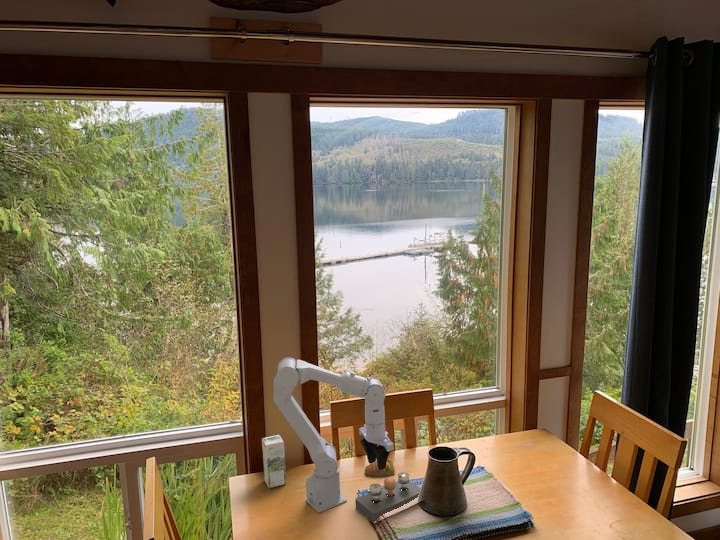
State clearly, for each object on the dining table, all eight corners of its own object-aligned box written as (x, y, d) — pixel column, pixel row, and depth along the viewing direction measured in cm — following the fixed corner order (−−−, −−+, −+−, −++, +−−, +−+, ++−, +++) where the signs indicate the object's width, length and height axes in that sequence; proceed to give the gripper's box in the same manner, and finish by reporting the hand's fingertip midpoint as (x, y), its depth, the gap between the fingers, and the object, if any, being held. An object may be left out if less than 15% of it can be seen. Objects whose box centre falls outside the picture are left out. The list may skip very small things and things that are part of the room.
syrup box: (281, 476, 171) (278, 433, 169) (286, 485, 165) (283, 440, 163) (264, 480, 168) (261, 437, 167) (268, 489, 163) (265, 444, 161)
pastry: (367, 480, 166) (367, 468, 166) (362, 470, 173) (361, 459, 172) (396, 475, 169) (395, 463, 168) (389, 465, 175) (389, 454, 175)
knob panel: (374, 523, 143) (373, 513, 143) (355, 508, 151) (355, 498, 150) (425, 500, 153) (424, 490, 153) (405, 487, 161) (405, 478, 160)
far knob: (403, 494, 152) (402, 479, 152) (396, 489, 155) (395, 474, 154) (411, 490, 154) (411, 475, 153) (404, 486, 157) (404, 471, 156)
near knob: (374, 506, 147) (374, 490, 146) (368, 501, 149) (367, 486, 149) (384, 502, 149) (383, 487, 148) (377, 497, 151) (376, 482, 151)
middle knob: (389, 500, 150) (388, 484, 149) (382, 495, 152) (381, 480, 152) (398, 496, 151) (397, 481, 151) (391, 491, 154) (390, 476, 153)
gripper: (401, 425, 150) (403, 470, 152) (371, 410, 162) (373, 452, 164) (381, 432, 146) (383, 478, 148) (352, 416, 158) (354, 459, 160)
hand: (377, 465), depth 156 cm, fingers open, 4 cm apart
